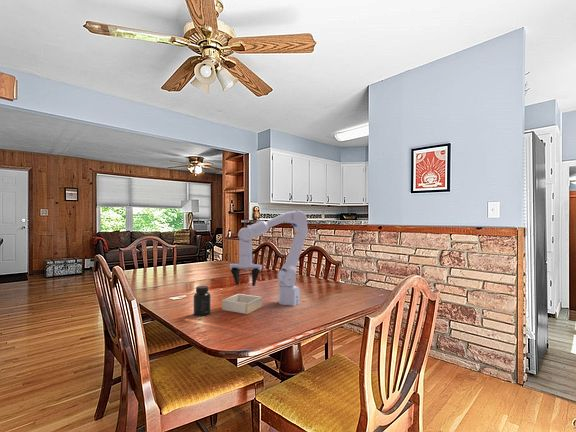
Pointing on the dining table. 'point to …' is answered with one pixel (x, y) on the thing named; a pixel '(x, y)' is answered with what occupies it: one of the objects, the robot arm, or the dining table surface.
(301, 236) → the robot arm
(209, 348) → the dining table surface
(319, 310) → the dining table surface
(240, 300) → the carton
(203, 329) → the dining table surface
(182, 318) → the dining table surface
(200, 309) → the supplement bottle
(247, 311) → the flap
